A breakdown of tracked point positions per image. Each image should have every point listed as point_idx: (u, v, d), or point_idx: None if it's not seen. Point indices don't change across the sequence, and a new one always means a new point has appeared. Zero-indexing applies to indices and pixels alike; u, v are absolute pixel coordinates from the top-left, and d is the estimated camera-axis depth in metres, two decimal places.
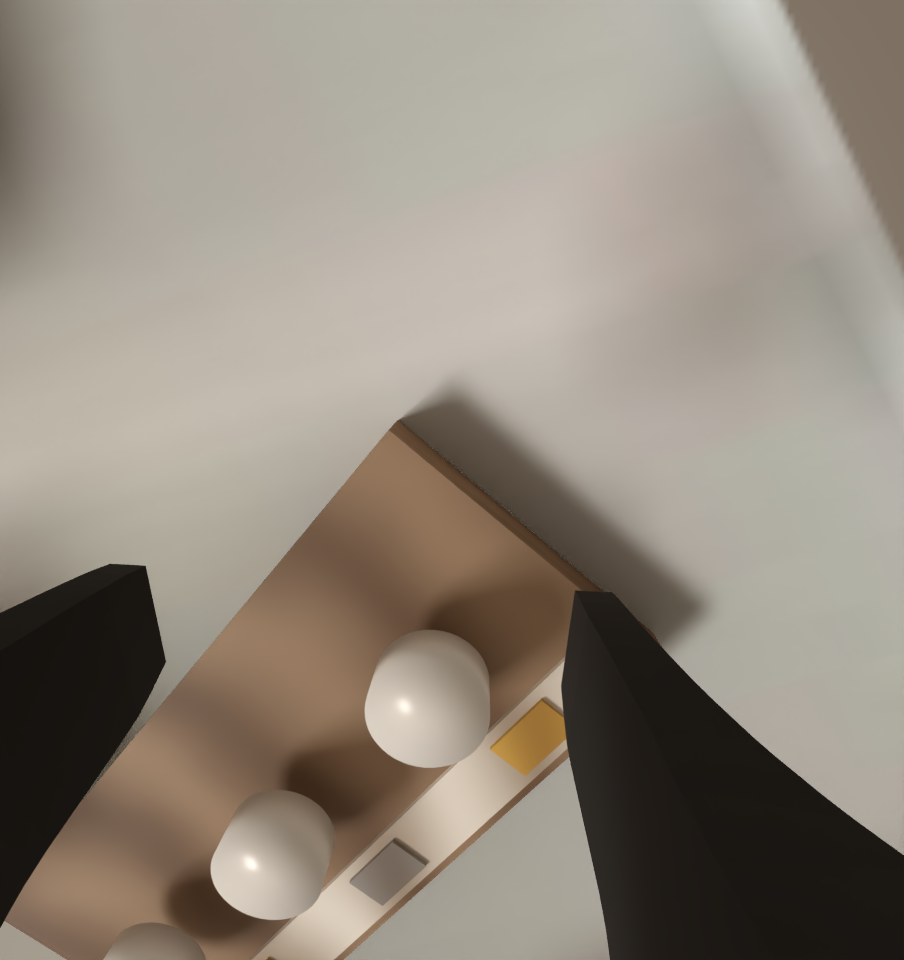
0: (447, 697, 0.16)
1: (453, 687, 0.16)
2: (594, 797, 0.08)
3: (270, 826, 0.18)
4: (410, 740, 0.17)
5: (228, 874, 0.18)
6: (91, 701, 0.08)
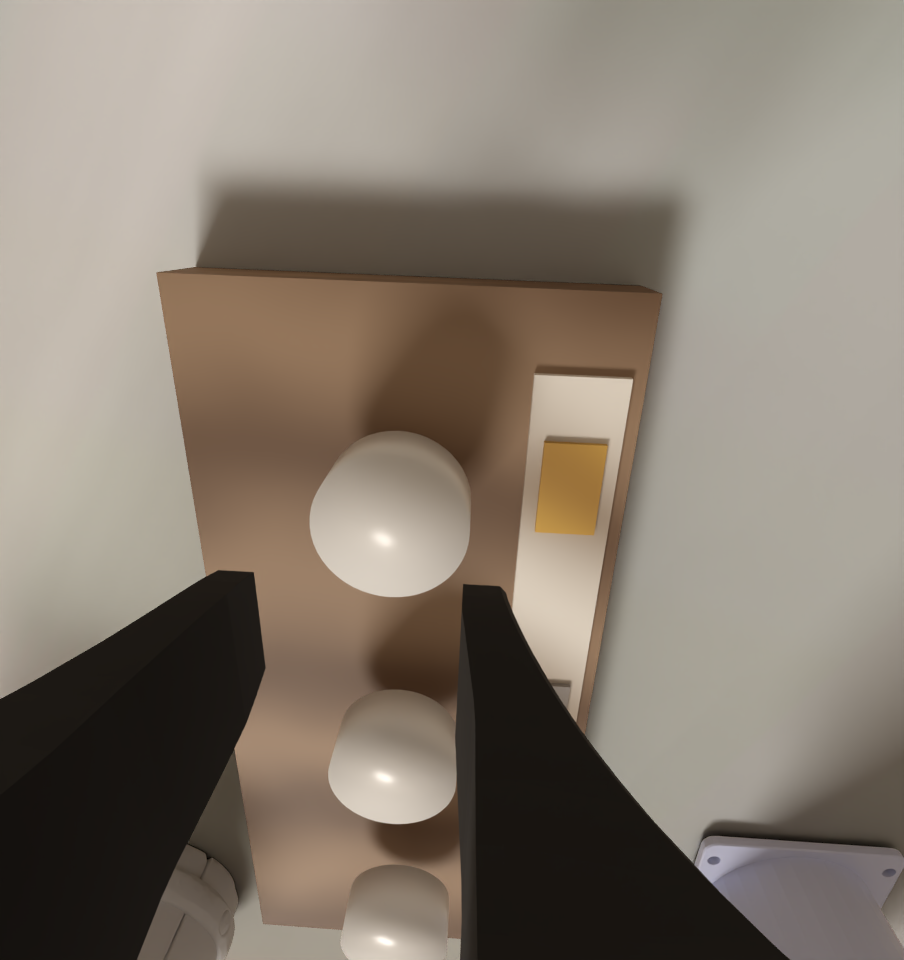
0: (392, 497, 0.12)
1: (388, 481, 0.12)
2: (461, 788, 0.08)
3: (356, 734, 0.16)
4: (398, 568, 0.13)
5: (359, 798, 0.16)
6: (214, 709, 0.08)
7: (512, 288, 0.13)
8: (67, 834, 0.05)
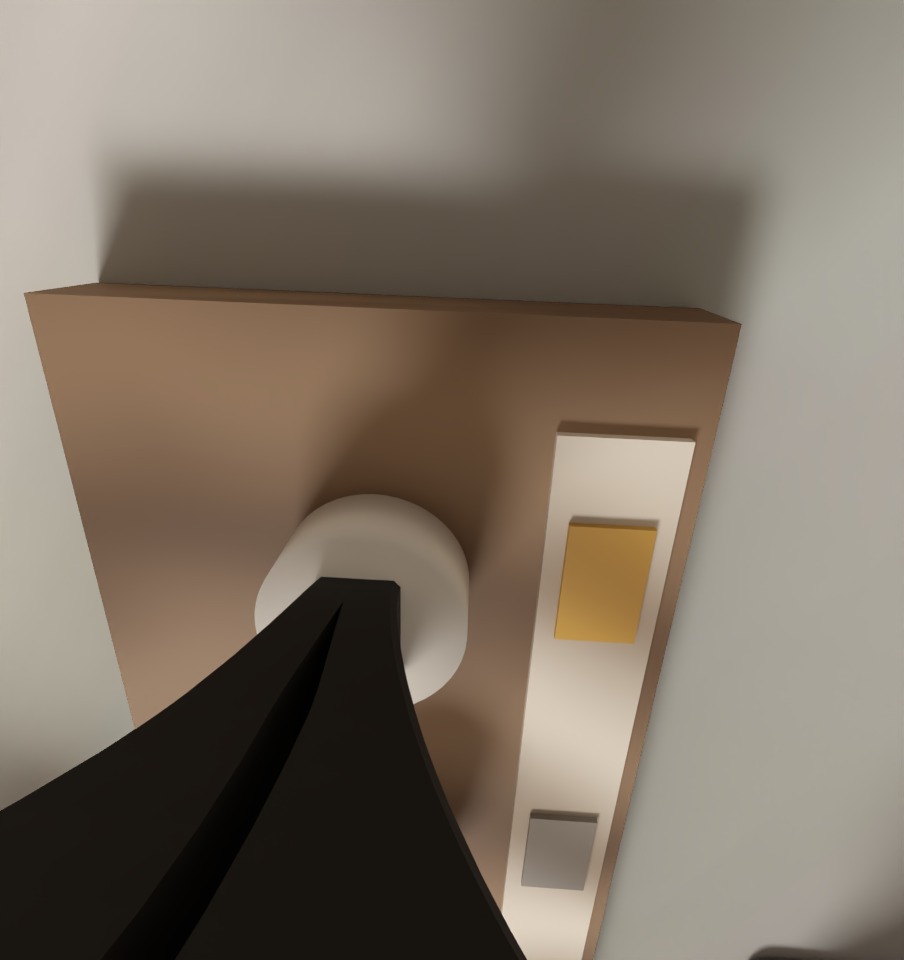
0: None
1: (357, 571, 0.09)
2: None
3: None
4: None
5: None
6: None
7: (527, 316, 0.09)
8: None
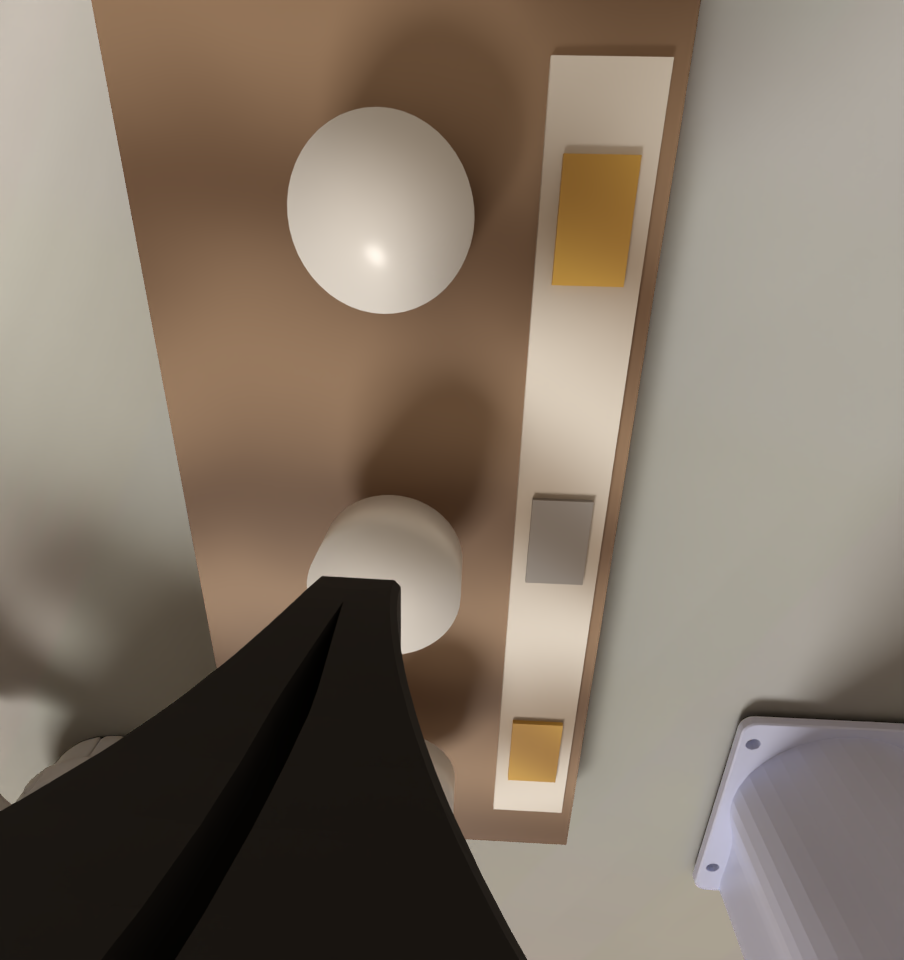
0: (382, 169, 0.11)
1: (377, 146, 0.11)
2: None
3: (339, 532, 0.13)
4: (391, 272, 0.11)
5: None
6: None
7: None
8: None
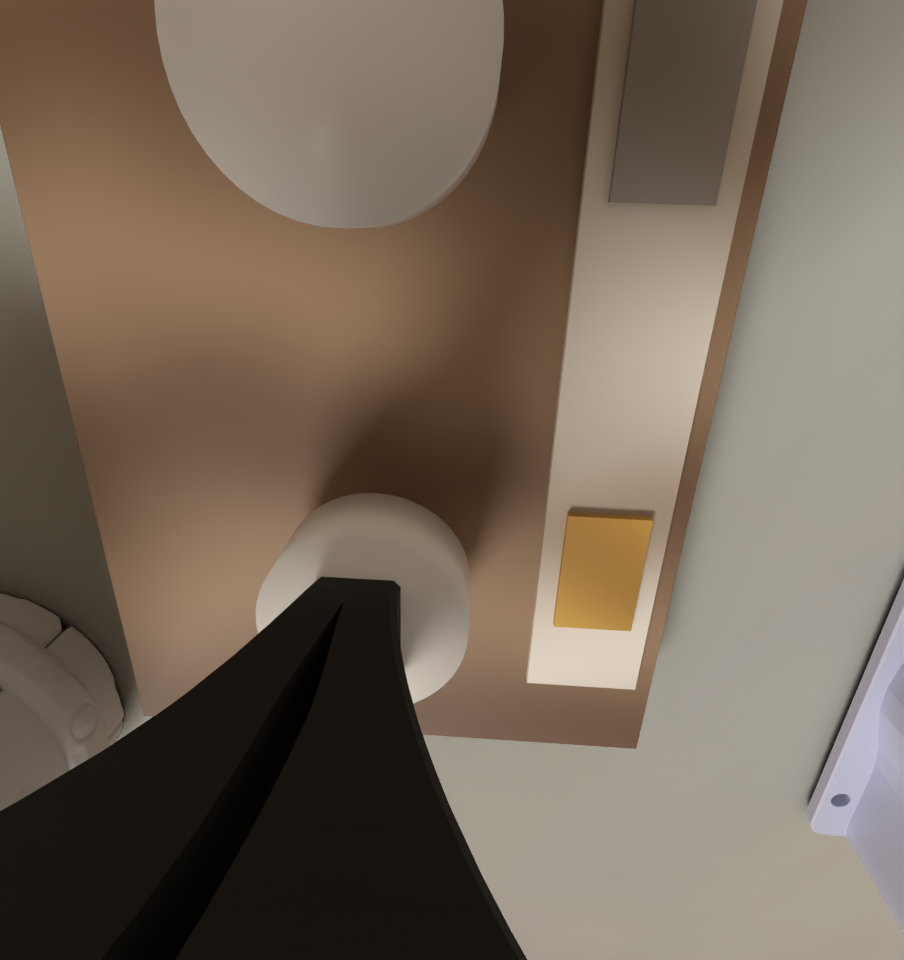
0: None
1: None
2: None
3: None
4: None
5: (247, 124, 0.06)
6: None
7: None
8: None
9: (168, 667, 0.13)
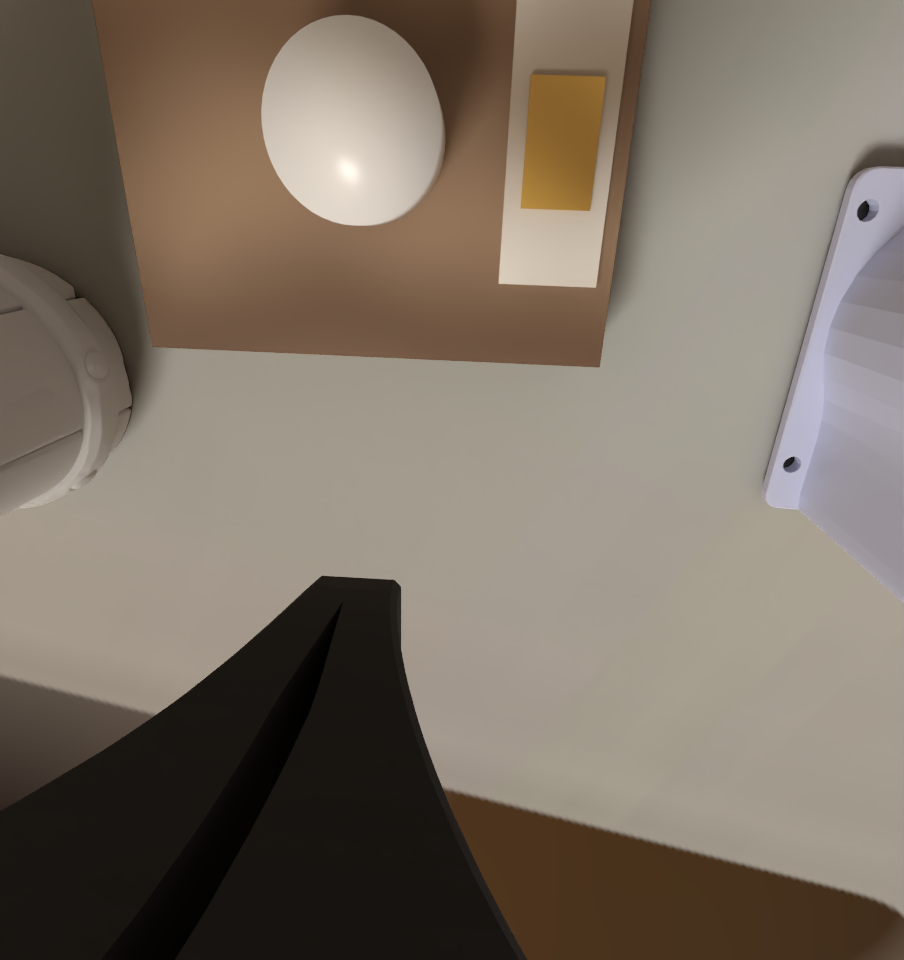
0: None
1: None
2: None
3: None
4: None
5: None
6: None
7: None
8: None
9: (174, 286, 0.15)
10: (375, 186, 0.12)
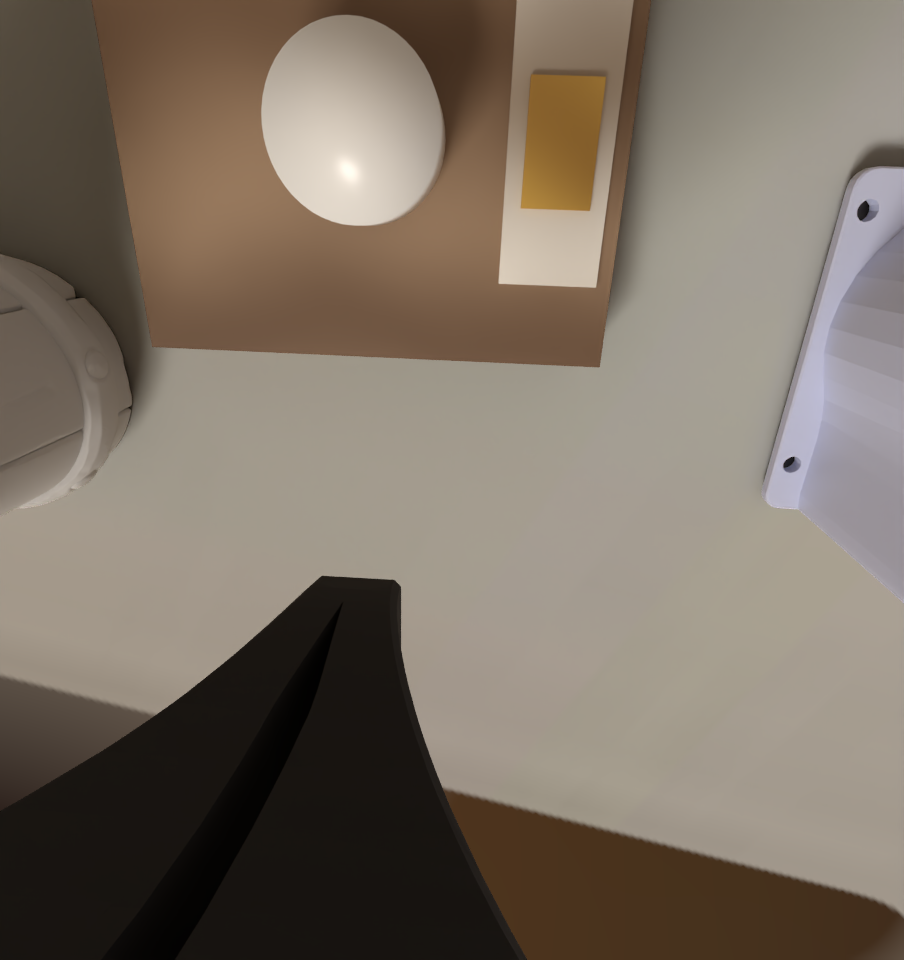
0: None
1: None
2: None
3: None
4: None
5: None
6: None
7: None
8: None
9: (174, 286, 0.15)
10: (375, 186, 0.12)
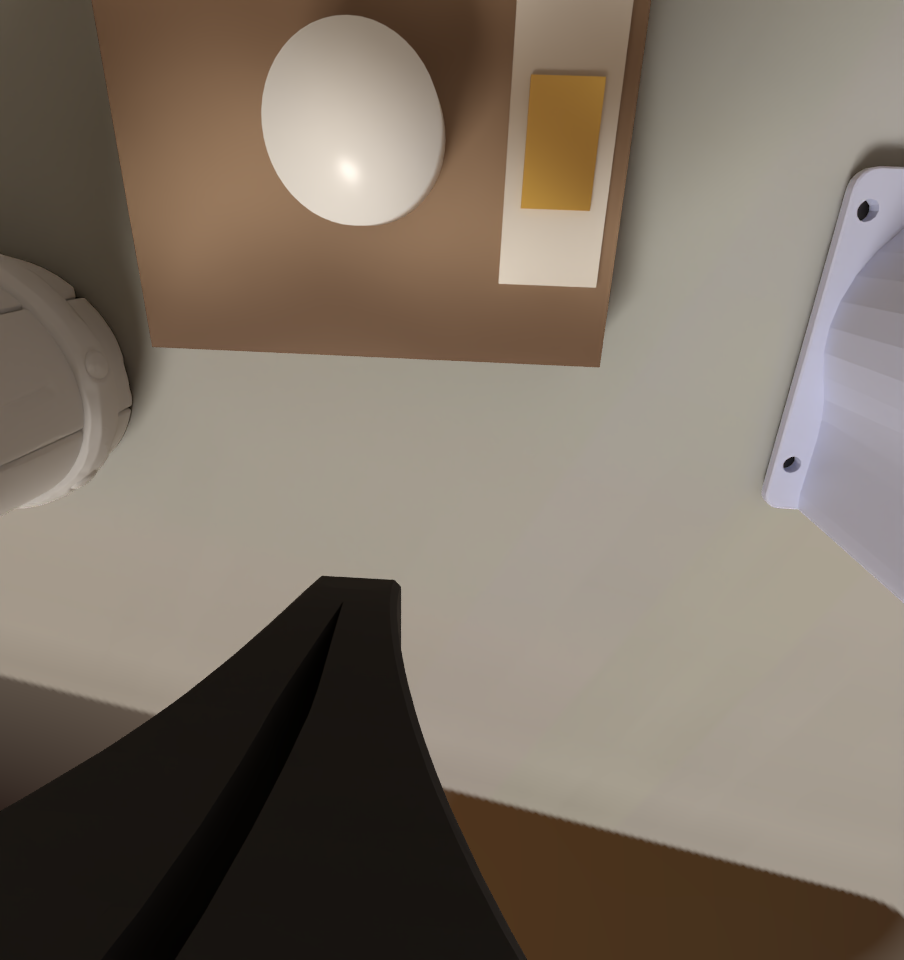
0: None
1: None
2: None
3: None
4: None
5: None
6: None
7: None
8: None
9: (174, 286, 0.15)
10: (375, 186, 0.12)
